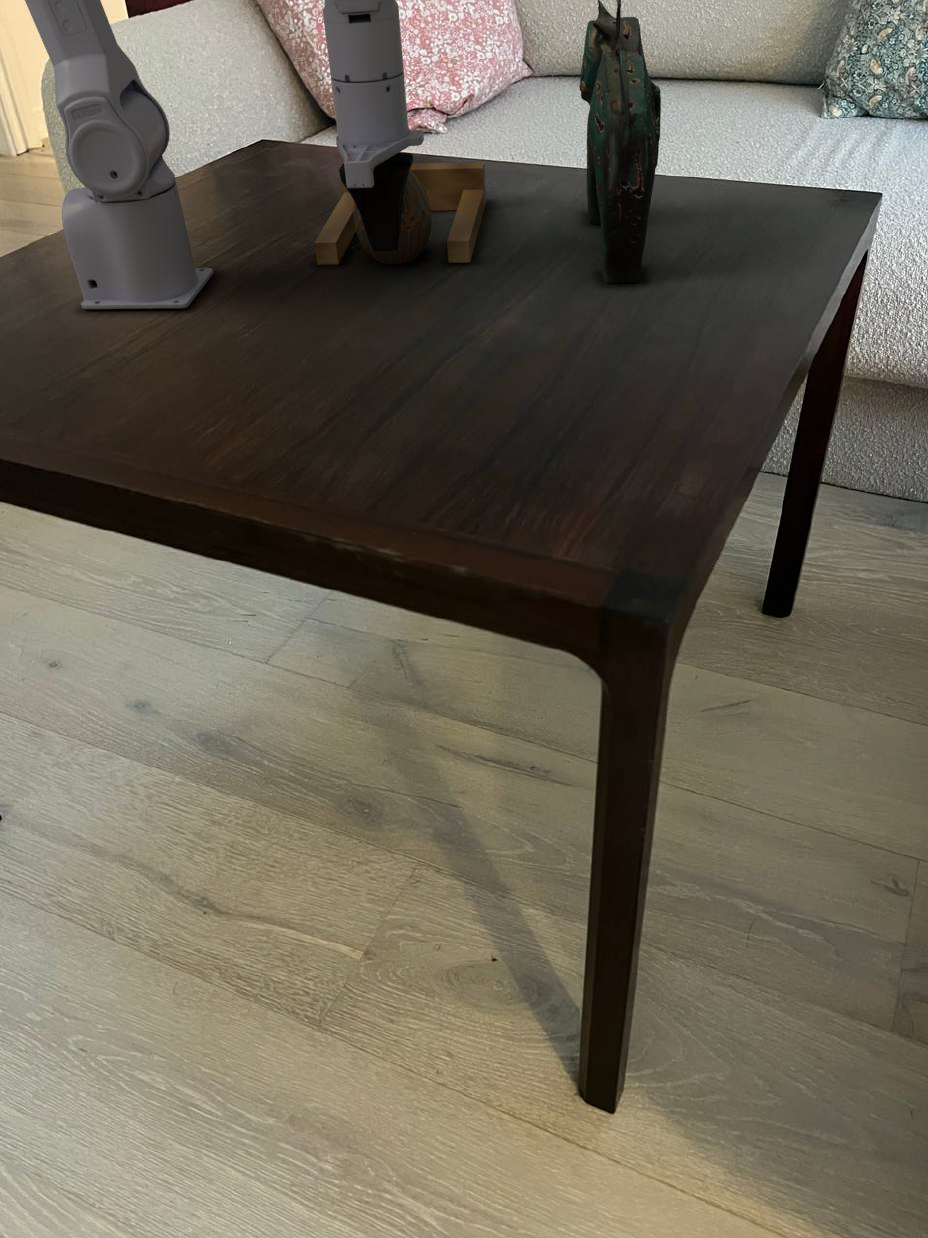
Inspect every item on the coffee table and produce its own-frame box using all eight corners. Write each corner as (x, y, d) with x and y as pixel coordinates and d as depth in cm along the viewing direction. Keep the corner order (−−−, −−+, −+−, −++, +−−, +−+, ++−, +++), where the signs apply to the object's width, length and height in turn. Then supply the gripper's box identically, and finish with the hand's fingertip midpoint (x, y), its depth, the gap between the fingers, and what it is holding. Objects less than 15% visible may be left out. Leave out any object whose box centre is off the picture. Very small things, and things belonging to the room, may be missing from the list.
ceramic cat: (575, 209, 100) (579, -30, 87) (641, 206, 100) (655, -34, 87) (587, 288, 85) (594, 14, 72) (665, 285, 84) (686, 8, 72)
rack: (317, 264, 92) (310, 219, 90) (350, 205, 104) (345, 164, 102) (470, 262, 91) (468, 217, 88) (486, 203, 103) (484, 161, 100)
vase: (406, 275, 89) (396, 170, 83) (343, 263, 92) (330, 161, 86) (448, 249, 93) (442, 147, 88) (387, 239, 96) (377, 140, 91)
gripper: (403, 95, 73) (419, 280, 82) (430, 51, 84) (441, 218, 93) (308, 98, 74) (333, 281, 82) (347, 54, 85) (365, 220, 93)
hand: (385, 248), depth 88 cm, fingers closed
